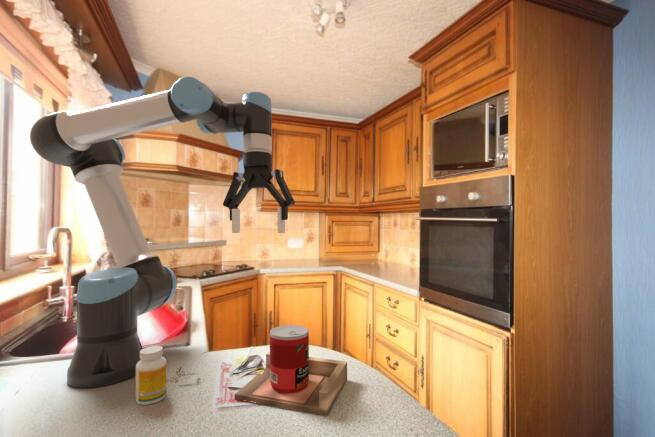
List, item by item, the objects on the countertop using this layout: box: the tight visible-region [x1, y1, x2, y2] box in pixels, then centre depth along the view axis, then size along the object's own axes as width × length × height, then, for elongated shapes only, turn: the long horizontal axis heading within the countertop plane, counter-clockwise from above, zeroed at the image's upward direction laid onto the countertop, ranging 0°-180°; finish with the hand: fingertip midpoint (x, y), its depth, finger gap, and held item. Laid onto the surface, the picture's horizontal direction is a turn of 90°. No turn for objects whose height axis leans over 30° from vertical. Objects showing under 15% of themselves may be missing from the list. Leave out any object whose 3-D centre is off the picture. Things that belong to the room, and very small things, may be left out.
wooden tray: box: [234, 351, 348, 417], centre depth 68 cm, size 19×14×4 cm
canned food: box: [269, 324, 310, 393], centre depth 67 cm, size 8×8×11 cm
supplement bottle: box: [134, 345, 167, 406], centre depth 65 cm, size 5×5×10 cm
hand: (258, 233), depth 87 cm, fingers open, 13 cm apart
